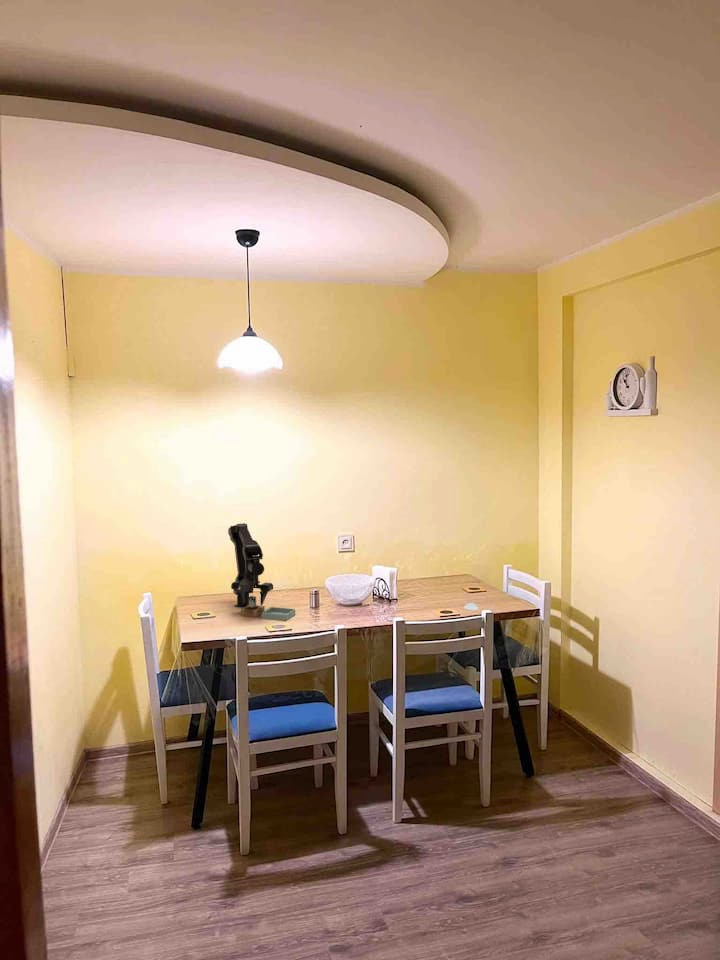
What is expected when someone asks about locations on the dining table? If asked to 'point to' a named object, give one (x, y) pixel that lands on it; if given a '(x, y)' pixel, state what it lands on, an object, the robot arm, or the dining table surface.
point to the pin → (252, 602)
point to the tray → (278, 613)
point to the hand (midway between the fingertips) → (252, 604)
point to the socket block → (252, 611)
